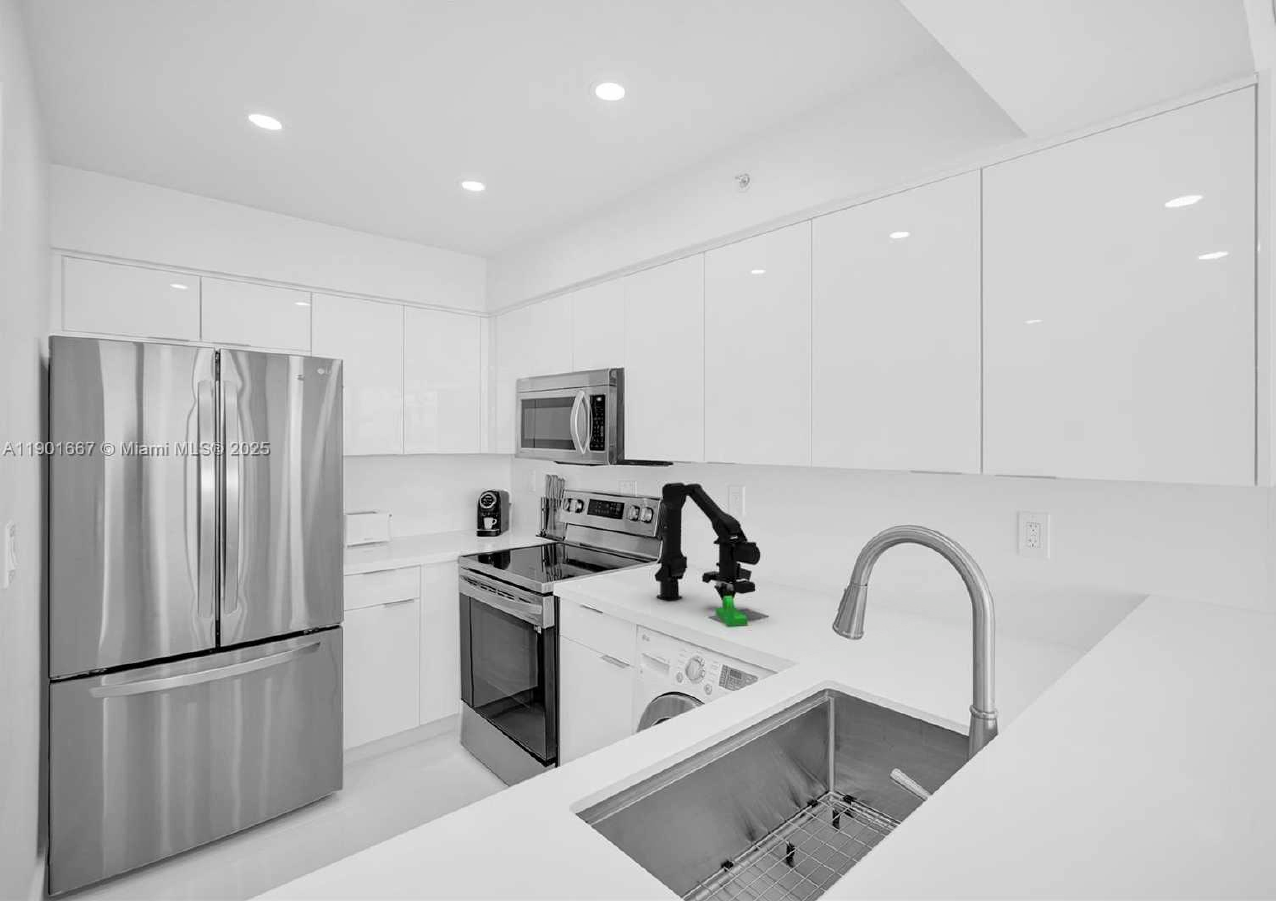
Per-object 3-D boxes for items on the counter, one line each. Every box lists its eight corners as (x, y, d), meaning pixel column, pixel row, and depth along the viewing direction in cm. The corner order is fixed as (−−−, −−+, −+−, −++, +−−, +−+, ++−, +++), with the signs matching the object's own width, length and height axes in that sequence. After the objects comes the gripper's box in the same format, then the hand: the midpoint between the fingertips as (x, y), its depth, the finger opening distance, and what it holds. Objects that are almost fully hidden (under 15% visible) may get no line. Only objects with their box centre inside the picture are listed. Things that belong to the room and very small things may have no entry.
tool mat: (708, 617, 190) (708, 616, 190) (746, 609, 199) (746, 608, 199) (730, 625, 182) (730, 625, 182) (769, 616, 191) (769, 615, 191)
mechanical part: (747, 624, 182) (747, 597, 182) (727, 626, 181) (727, 598, 181) (735, 613, 194) (735, 587, 194) (716, 614, 193) (716, 588, 193)
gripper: (768, 562, 191) (767, 612, 191) (726, 551, 206) (726, 598, 207) (741, 566, 185) (741, 618, 185) (701, 555, 200) (701, 603, 201)
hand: (727, 609), depth 195 cm, fingers closed
